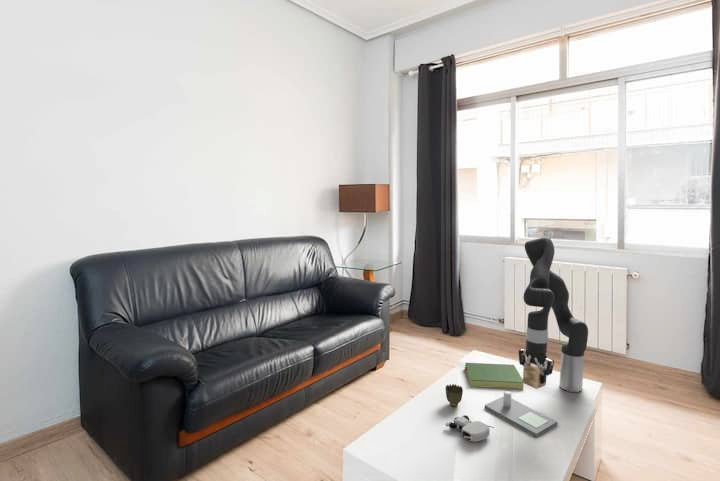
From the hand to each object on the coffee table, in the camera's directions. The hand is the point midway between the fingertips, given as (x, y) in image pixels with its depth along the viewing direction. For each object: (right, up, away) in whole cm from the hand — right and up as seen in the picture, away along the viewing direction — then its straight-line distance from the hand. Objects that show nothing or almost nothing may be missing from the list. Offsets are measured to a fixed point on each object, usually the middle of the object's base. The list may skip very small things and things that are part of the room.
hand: (534, 379), depth 154 cm
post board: (-3, -18, +7) cm, 19 cm away
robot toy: (-27, -20, -3) cm, 33 cm away
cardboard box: (0, -2, 0) cm, 2 cm away
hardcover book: (-3, -14, +40) cm, 43 cm away
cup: (-28, -17, +16) cm, 36 cm away
